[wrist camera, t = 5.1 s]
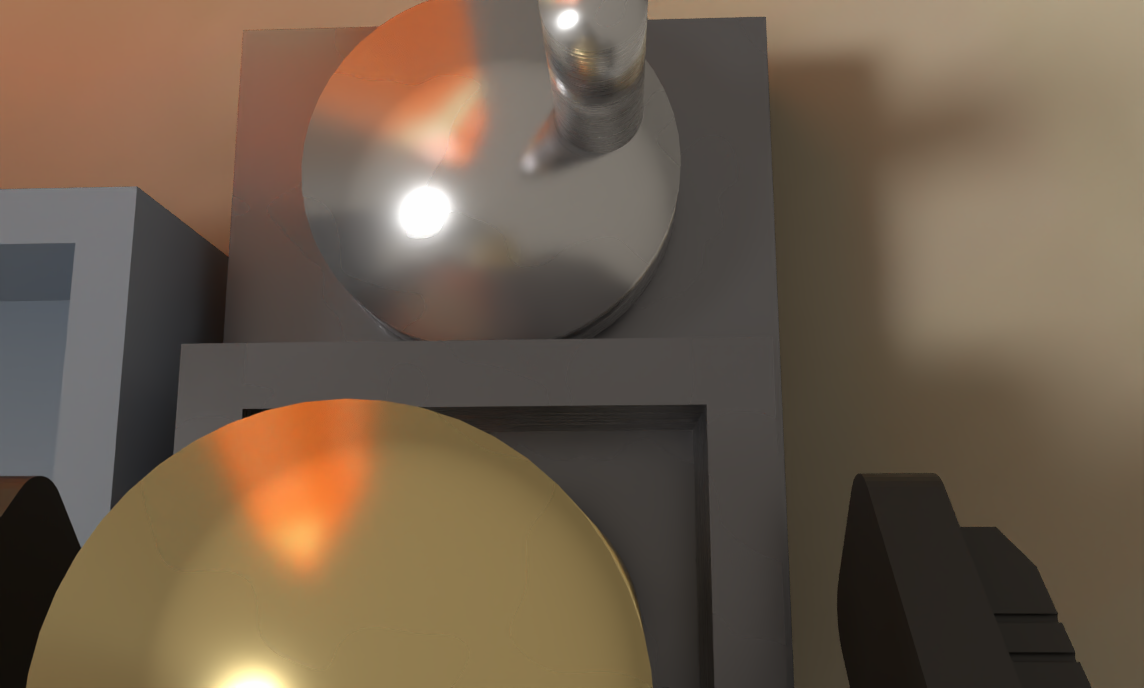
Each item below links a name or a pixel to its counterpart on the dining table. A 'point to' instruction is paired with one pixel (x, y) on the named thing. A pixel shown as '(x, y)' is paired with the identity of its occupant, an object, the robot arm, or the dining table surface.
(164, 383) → the tray
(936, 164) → the dining table surface
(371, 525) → the cylinder
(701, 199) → the crank housing
